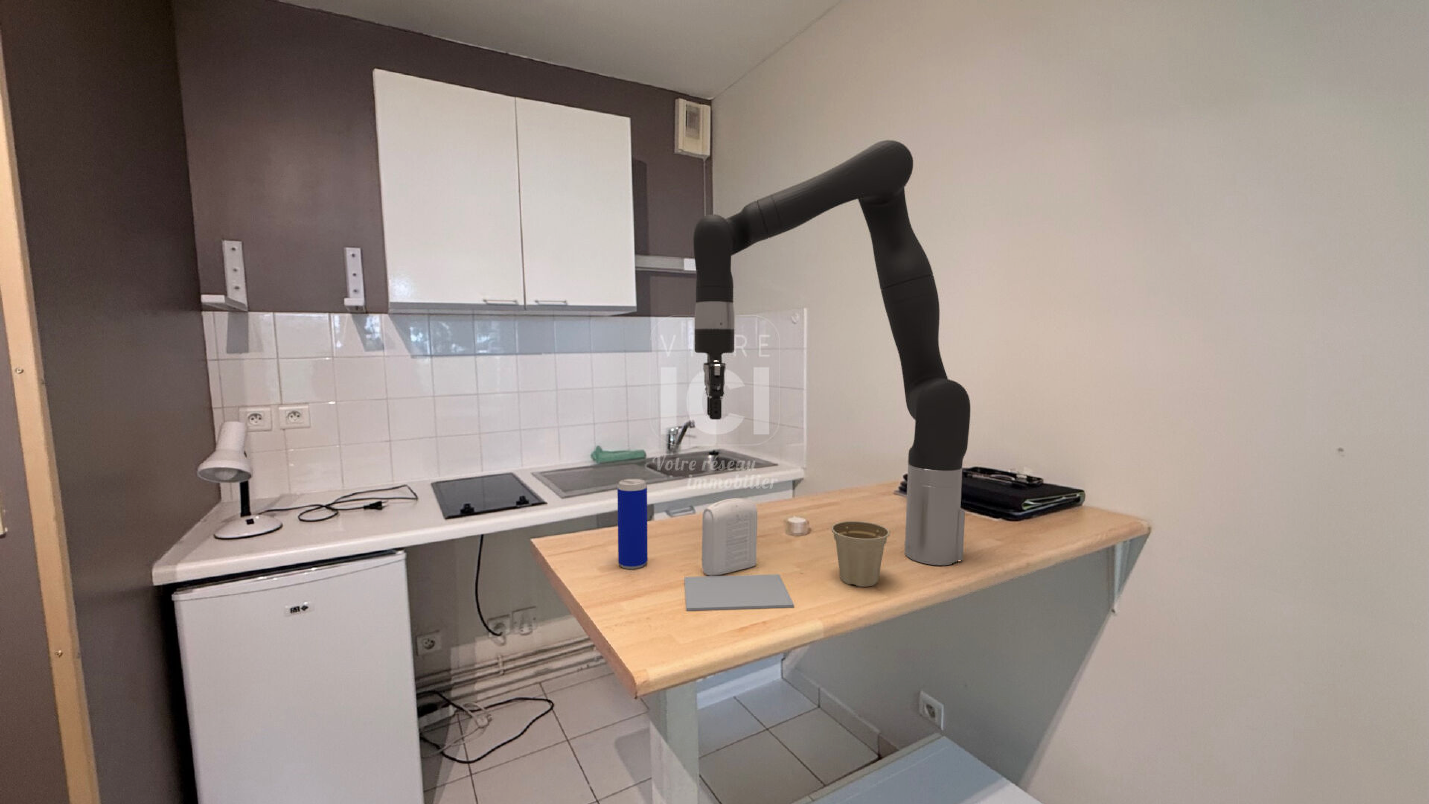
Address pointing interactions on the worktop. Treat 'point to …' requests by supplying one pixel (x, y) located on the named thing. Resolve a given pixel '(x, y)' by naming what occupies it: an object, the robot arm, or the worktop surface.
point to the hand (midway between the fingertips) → (714, 416)
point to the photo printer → (729, 536)
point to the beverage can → (632, 523)
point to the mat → (736, 592)
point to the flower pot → (859, 551)
